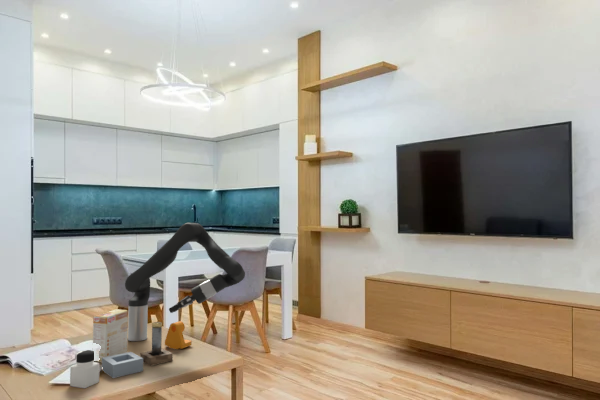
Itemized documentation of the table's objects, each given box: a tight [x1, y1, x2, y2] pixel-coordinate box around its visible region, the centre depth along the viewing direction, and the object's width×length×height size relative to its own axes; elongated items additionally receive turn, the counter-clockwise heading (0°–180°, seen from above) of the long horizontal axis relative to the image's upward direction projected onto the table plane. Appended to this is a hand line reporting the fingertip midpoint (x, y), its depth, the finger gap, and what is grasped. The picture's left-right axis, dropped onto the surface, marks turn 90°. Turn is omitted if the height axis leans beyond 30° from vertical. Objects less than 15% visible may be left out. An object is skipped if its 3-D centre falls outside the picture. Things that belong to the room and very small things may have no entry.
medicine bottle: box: [69, 349, 100, 389], centre depth 166 cm, size 7×7×12 cm
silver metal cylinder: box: [151, 321, 163, 356], centre depth 194 cm, size 4×4×16 cm
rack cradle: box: [101, 351, 144, 379], centre depth 180 cm, size 12×12×5 cm
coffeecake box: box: [92, 308, 128, 363], centre depth 198 cm, size 15×7×20 cm, turn 164°
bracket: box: [164, 320, 192, 350], centre depth 214 cm, size 11×7×12 cm, turn 62°
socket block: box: [139, 348, 174, 366], centre depth 194 cm, size 10×10×3 cm
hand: (171, 310), depth 197 cm, fingers open, 8 cm apart
